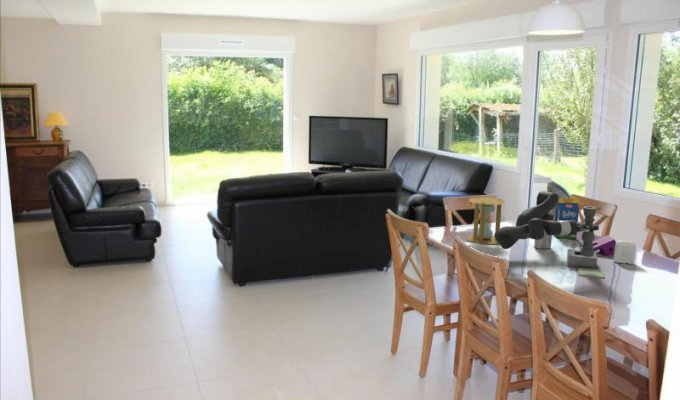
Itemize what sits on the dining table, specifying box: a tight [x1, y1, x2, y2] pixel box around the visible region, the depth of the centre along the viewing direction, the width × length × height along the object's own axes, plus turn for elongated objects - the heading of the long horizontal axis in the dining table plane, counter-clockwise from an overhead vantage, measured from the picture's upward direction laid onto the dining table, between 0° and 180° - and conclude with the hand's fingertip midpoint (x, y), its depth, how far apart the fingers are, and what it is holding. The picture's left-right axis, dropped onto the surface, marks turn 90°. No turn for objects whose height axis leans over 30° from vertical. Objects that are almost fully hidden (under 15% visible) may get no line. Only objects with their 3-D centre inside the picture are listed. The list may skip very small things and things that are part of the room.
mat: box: [577, 268, 606, 279], centre depth 297 cm, size 12×12×1 cm
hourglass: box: [466, 196, 506, 245], centre depth 358 cm, size 24×22×25 cm
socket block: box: [566, 248, 598, 270], centre depth 311 cm, size 14×14×6 cm
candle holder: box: [580, 205, 597, 257], centre depth 296 cm, size 6×6×25 cm
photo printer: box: [613, 240, 637, 265], centre depth 315 cm, size 10×4×12 cm, turn 72°
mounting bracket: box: [580, 234, 617, 256], centre depth 335 cm, size 9×8×18 cm
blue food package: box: [553, 198, 580, 240], centre depth 367 cm, size 6×12×25 cm, turn 90°
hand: (595, 226), depth 297 cm, fingers closed on candle holder, 4 cm apart
